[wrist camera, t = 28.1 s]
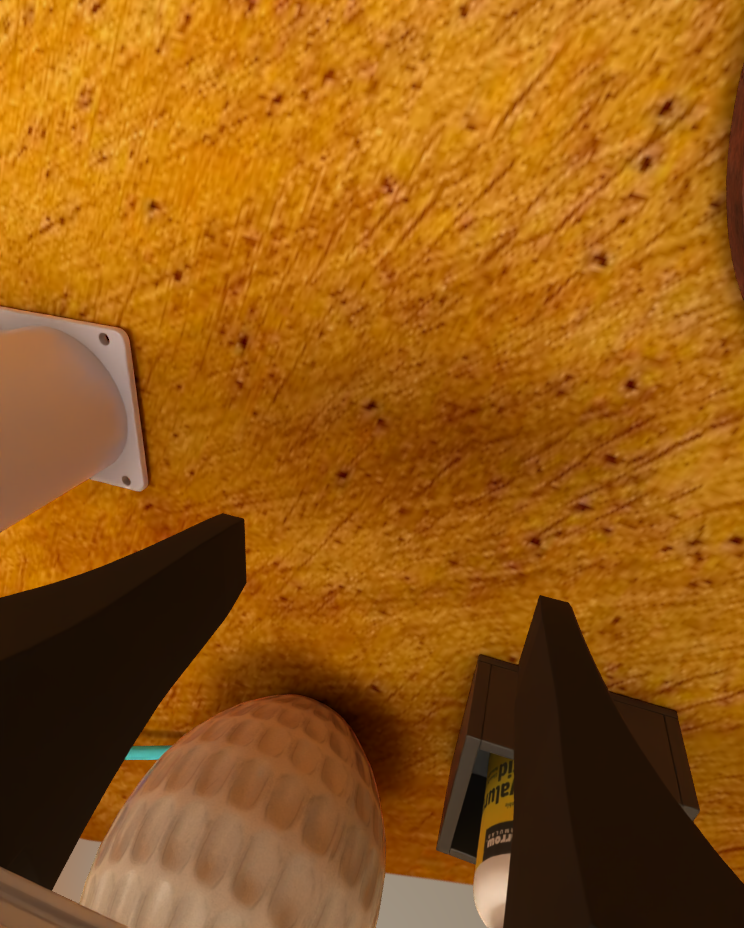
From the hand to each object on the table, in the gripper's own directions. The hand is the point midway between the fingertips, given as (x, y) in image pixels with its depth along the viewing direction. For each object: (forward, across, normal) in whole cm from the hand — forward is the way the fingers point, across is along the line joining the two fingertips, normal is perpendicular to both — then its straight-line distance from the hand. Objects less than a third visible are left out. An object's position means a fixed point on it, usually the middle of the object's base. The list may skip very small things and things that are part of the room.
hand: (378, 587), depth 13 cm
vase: (+9, +5, +20) cm, 23 cm away
